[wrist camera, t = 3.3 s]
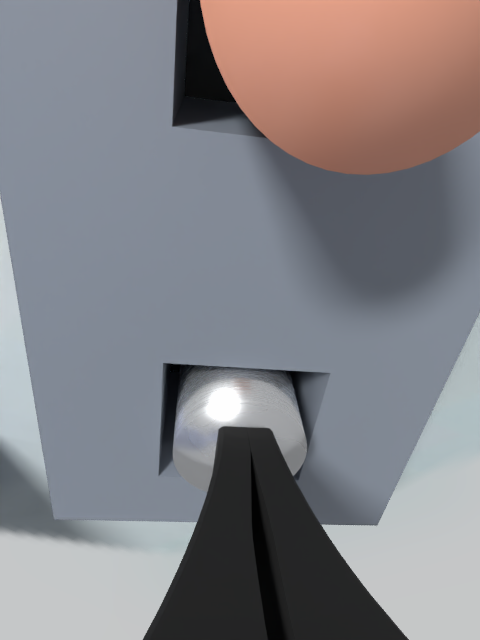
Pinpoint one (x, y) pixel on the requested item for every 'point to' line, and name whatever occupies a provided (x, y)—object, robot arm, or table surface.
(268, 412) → the steel plug
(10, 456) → the table surface
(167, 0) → the plug panel
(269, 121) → the terracotta plug
